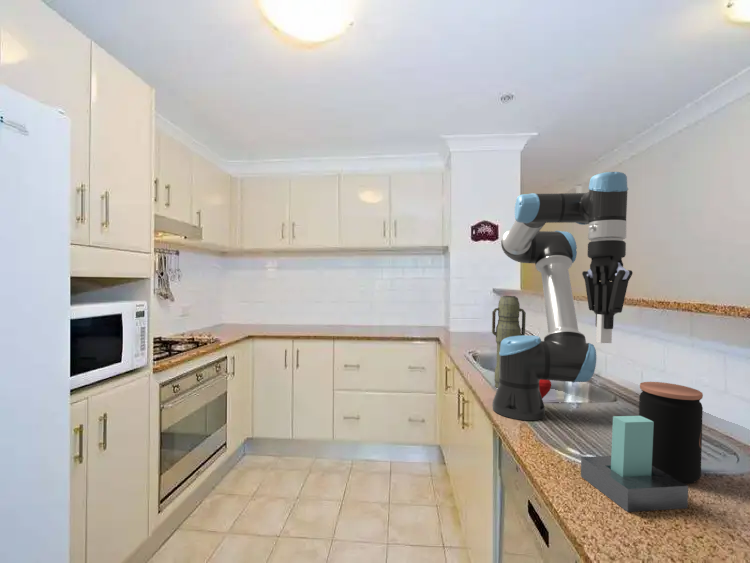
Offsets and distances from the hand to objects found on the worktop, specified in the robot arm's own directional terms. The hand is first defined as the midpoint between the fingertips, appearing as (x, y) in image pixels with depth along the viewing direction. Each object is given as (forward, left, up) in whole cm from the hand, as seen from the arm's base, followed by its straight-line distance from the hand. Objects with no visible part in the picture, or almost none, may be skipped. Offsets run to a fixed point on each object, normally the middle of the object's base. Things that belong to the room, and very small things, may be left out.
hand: (603, 342), depth 87 cm
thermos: (-55, +5, -27) cm, 61 cm away
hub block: (+14, -5, -26) cm, 30 cm away
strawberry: (-42, +11, -27) cm, 51 cm away
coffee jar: (+8, +9, -27) cm, 29 cm away
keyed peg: (+14, -5, -26) cm, 30 cm away
